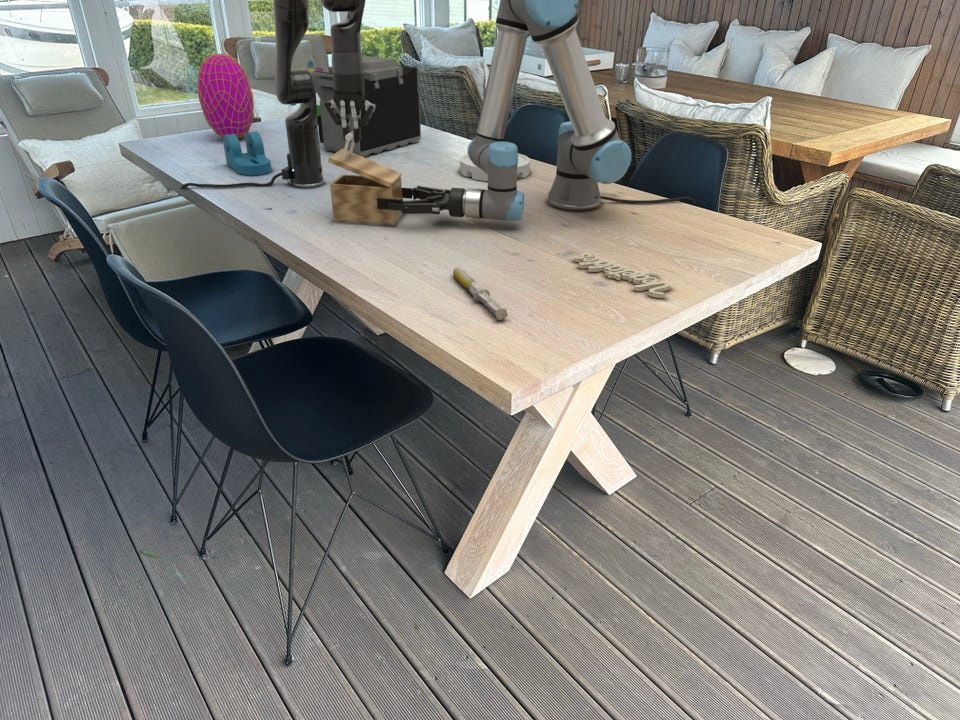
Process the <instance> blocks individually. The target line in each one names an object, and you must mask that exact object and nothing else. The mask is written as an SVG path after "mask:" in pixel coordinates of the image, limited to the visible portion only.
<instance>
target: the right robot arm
mask: <svg viewBox="0 0 960 720" xmlns="http://www.w3.org/2000/svg"><path fill="white" fill-rule="evenodd" d="M578 5H579V0H499V5H498V9H497V13H496V17H495V24H494V25H495V27H496V28H497V35H496V39H495V44H494V47H493V48H494V49H493V53H492V56H491V57H492V58H491V62H490V67H489V71H488V76H487V81H486V82H487V83H486V85H485V89H484V95H483V100H482V105H481V109H480V114H479V119H478V123H477V129H476V132H475V133H476V134H475V136H474V138H473V139H472V140H471V141H470V142H469V144H468V147H467V154H468V156H469V159H470V160H471V161H472V162H473V164H474V165H475V166H476V167H479V168H480V169H482V170H483V171H484V172H485V173H486V174H488V181H487V189H483V188H471V187H470V188H467V189H465V188H464V187H451V188H450V189H449V188H448V189H442V188H436V187H429V186H422V185H416V187H402V198H401V200H400V199H385V198H377V209H385V210H400V211H402V214H403V215H427V214H428V215H429V214H432V215H440V214H441V212H442V211H446V210H447V211H448V214H449V216H450V217H452V218H463V217H465V218H468V219H474V221H476V220H478V219H481V220H482V219H483V220H495V221H504V222H515V221H521V220H522V218H523V216H524V211H525V193H524V192H522V191H519V190H518V188H517V183H518V182H517V181H518V178H517V166H518V154H519V149H518V146H517V144H515V143H514V142H509V141H505V135H506V132H507V131H506V130H507V126H508V122H509V118H510V113H511V109H512V105H513V102H514V101H513V100H514V97H515V92H516V87H517V84H518V80H519V76H520V71H521V66H522V62H523V59H524V55H525V50H526V45H527V40H528V38H529V37H530V38H531V40H532V42H533V43H536V44H538V45H540V46H541V47H542V50H543V53H544V57H545V59H546V61H547V64H548V66H549V69H550V71H551V75H552V77H553V80H554V82H555V84H556V87H557V90H558V92H559V95H560V98H561V100H562V103H563V105H564V109H565V111H566V114H567V116H568V119H569V121H565V122H562V123H561V124H560V125H559V130H558V135H557V152H556V153H557V155H556V171H555V178H554V179H553V182H552V185H551V187H550V190H549V192H548V194H547V196H548V197H547V203H548V204H549V205H550V206H552V207H553V208H556V209H561V210H565V211H571V212H573V211H574V212H583V211H591V210H594V209H595V210H596V209H597V208H599V207H600V206H601V201H602V200H605V201H611V202H615V203H624V204H658V203H668V202H672V203H673V202H679V201H684V200H685V201H689V202H690V203H691V204H696V200H694V199H693V198H692V197H690V196H679V197H674V198H673V197H672V198H661V199H650V200H649V199H646V200H645V199H642V200H641V199H640V200H638V199H622V198H615V197H611V196H606V195H605V196H604V195H601V191H600V187H599V184H603V185H611V184H613V183H616V182H618V181H620V180H621V179H622V178H623V177H624V176H625V175H626V173H627V172H628V170H629V167H630V166H631V163H632V151H631V148H630V146H629V145H628V144H627V143H626V141H624V140H623V139H622V140H621V138H620V136H619V133H618V129H617V127H616V124H615V122H614V121H613V120H610V119H608V118H607V117H606V114H605V111H604V108H603V105H602V103H601V102H602V101H601V100H600V97H599V94H598V91H597V88H596V85H595V82H594V79H593V76H592V74H591V71H590V68H589V64H588V62H587V59H586V56H585V53H584V51H583V47H582V44H581V41H580V38H579V36H578V33H577V30H576V29H577V27H578V26H577V25H578V23H579V22H580V21H579V20H580V18H579V15H578V11H577V6H578ZM404 199H409V200H404ZM411 199H412V200H411Z"/></svg>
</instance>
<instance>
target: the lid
mask: <svg viewBox="0 0 960 720" xmlns="http://www.w3.org/2000/svg"><path fill="white" fill-rule="evenodd" d="M345 139H346V144H345V148H344V149H341V150H339V151H338V152H335V153H333V154H332V155H331V156H329V157H328V161H327V162H328V163H329V164H332V165H333V166H337V167H339V168H342V169H344V170H346V171H349V172H351V173H354V174H356V175H359V176H363V177H366V178H368V179H370V180H373V181H375V182H378V183H380V184H383V185H385V186H387V187H390V188H391V187H392V186H393V185H394V184H395V183H396V182H397V181H398V180H399V179H400V178H401V179H402V175H403V174H402V172H400V171H399V170H395V169H393V168H391V167H388V166H386V165H383V164H381V163H378V162H376V161H374V160H372V159H369V158H366V157H362V156H359V155H357V154H354V153H352V152H353V148H354V144H355V143H354V133H353V131H351V132H350V133H348V134H347V135H346V136H345ZM350 140H352V143H351V147H350V151H347V149H348V145H349V141H350Z"/></svg>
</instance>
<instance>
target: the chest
mask: <svg viewBox="0 0 960 720" xmlns="http://www.w3.org/2000/svg"><path fill="white" fill-rule="evenodd" d="M329 188H330V189H329V191H330V198H331V209H332V219H333V223H338V224H353V225H354V224H355V225H365V226H367V225H368V226H383V227H395V225H396V224H397V223H398V221H400V219H401V218H402V217H403V216H404V214H402V211H400V210H385V209H377V198H385V199H400V200H401V198H402V188H403V183H402V177H401V178H400V179H399V180H398V181H397V182H396V183H395V184H394V185H393V186H392V187H391V188H390V187H387V186H385V185H383V184H380V183H378V182H375V181H373V180H370V179H368V178H366V177H363V176H361V175H358V174H356V175H355V174H341V175H340V176H338V178H336V179H335V180H334V181H332V182H331V183H330V184H329ZM402 199H403V198H402Z"/></svg>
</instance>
